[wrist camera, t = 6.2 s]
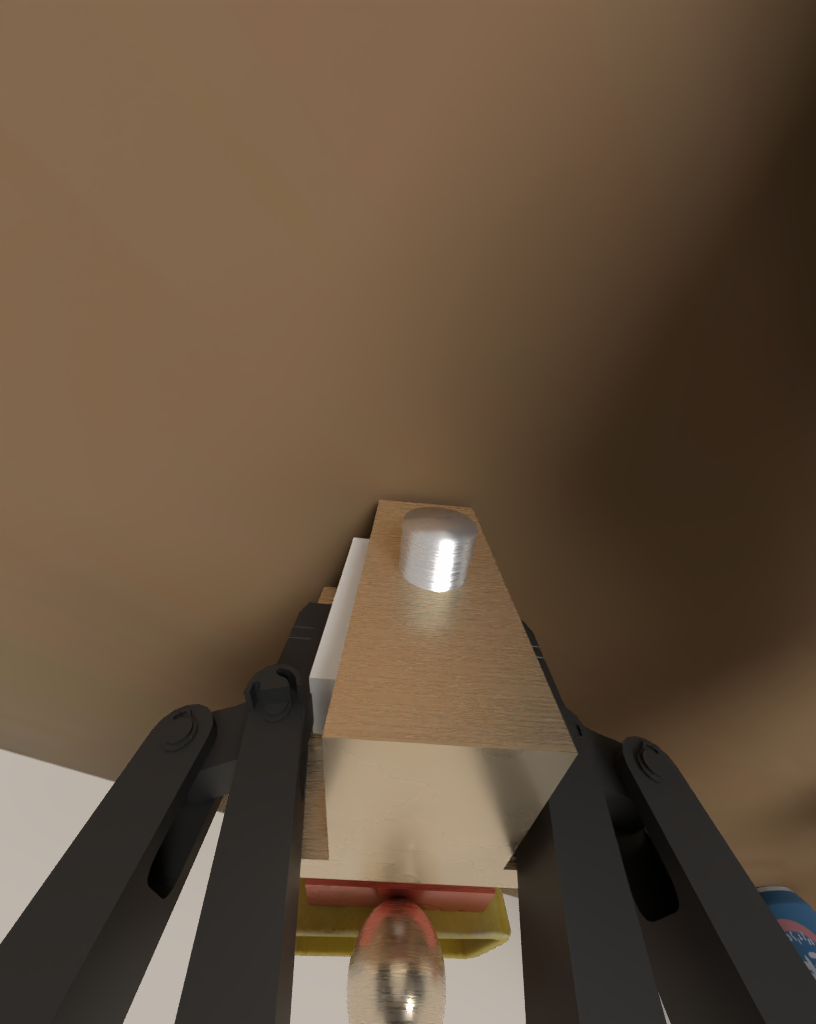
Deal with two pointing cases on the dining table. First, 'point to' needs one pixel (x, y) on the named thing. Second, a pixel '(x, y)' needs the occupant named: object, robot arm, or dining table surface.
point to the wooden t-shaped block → (425, 754)
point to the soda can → (794, 921)
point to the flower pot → (456, 931)
